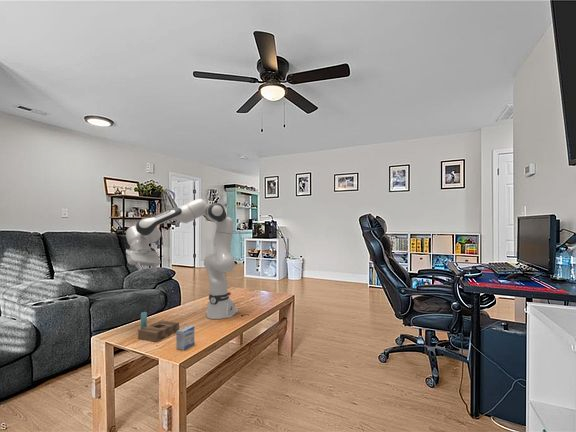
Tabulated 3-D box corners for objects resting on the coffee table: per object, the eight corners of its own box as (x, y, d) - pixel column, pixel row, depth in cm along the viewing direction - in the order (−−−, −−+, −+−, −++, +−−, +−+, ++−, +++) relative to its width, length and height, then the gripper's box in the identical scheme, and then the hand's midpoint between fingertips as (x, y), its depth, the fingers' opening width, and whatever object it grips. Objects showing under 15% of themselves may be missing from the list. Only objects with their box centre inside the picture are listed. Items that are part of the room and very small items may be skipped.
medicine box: (183, 350, 134) (183, 331, 134) (175, 349, 135) (176, 330, 136) (194, 344, 141) (194, 326, 141) (187, 342, 143) (187, 325, 143)
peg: (143, 329, 160) (144, 311, 160) (147, 330, 159) (148, 312, 159) (139, 331, 157) (139, 313, 157) (143, 332, 156) (143, 313, 156)
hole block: (161, 328, 162) (162, 320, 163) (179, 330, 158) (179, 322, 158) (138, 338, 148) (138, 329, 148) (156, 342, 143) (156, 332, 143)
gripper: (128, 245, 156) (137, 266, 150) (157, 249, 174) (165, 268, 169) (120, 252, 157) (128, 273, 151) (150, 256, 175) (158, 275, 170)
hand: (148, 271), depth 160 cm, fingers open, 8 cm apart
